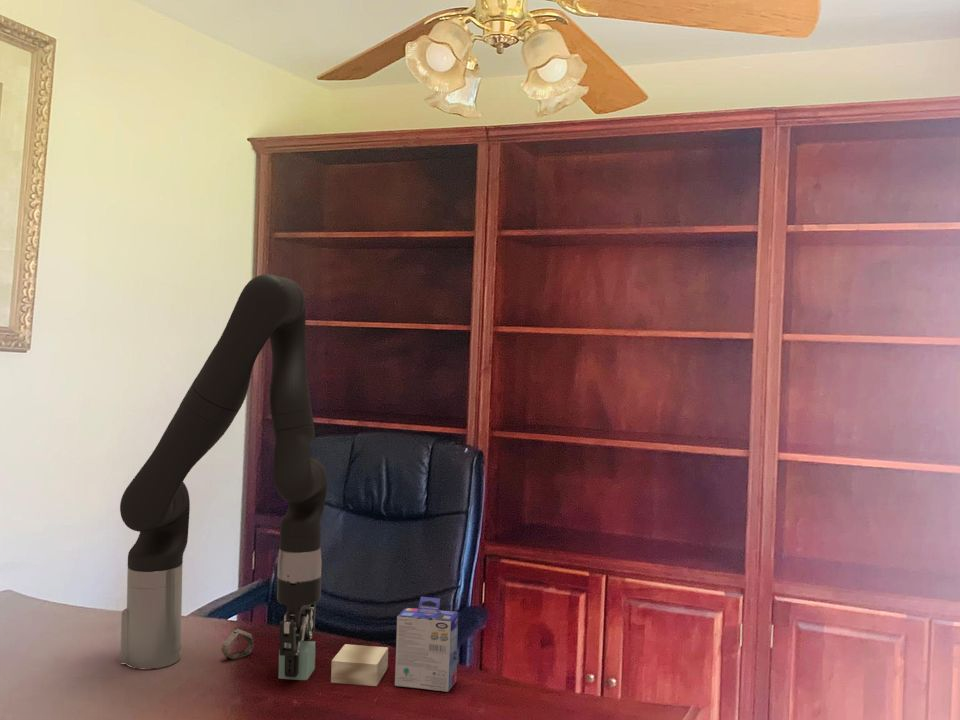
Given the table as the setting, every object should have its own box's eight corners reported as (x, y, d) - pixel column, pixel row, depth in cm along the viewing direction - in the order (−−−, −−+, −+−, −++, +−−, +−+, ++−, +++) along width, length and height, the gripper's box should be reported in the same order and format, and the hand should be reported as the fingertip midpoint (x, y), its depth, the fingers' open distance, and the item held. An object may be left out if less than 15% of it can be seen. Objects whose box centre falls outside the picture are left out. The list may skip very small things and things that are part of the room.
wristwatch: (257, 654, 152) (257, 627, 152) (229, 664, 147) (229, 636, 147) (244, 649, 154) (245, 623, 154) (217, 659, 149) (217, 632, 149)
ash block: (330, 684, 141) (331, 660, 141) (344, 666, 149) (344, 644, 148) (376, 687, 140) (377, 664, 140) (387, 669, 148) (388, 647, 148)
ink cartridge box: (457, 680, 143) (460, 597, 143) (450, 693, 138) (452, 607, 137) (403, 674, 145) (405, 592, 145) (393, 687, 140) (396, 602, 139)
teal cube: (278, 679, 142) (279, 650, 142) (287, 667, 147) (288, 639, 146) (306, 680, 141) (307, 651, 141) (314, 669, 146) (315, 641, 146)
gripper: (290, 562, 151) (288, 652, 151) (264, 584, 137) (262, 684, 137) (331, 563, 150) (328, 654, 151) (309, 586, 136) (306, 686, 136)
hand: (297, 668), depth 144 cm, fingers open, 6 cm apart
